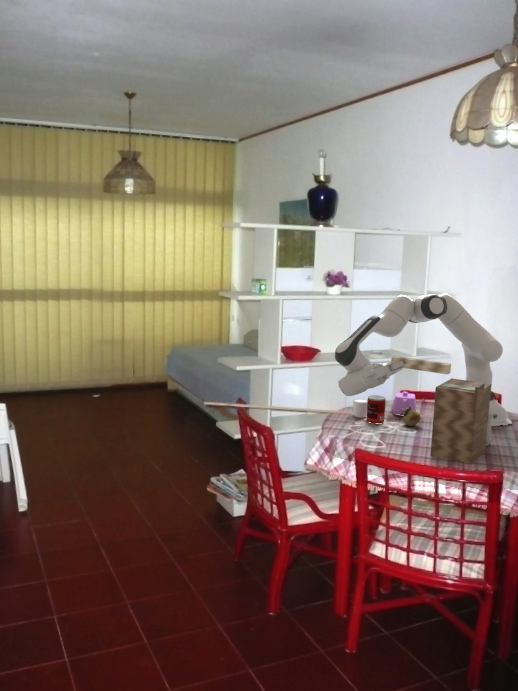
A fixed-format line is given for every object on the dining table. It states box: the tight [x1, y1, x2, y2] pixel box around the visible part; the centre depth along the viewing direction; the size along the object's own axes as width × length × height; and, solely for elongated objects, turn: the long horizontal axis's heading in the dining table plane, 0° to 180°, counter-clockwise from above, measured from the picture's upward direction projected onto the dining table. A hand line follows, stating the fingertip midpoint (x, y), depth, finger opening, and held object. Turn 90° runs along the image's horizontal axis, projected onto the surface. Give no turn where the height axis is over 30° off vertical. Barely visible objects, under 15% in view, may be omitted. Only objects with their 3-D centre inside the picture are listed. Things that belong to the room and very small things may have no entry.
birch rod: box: [390, 355, 452, 375], centre depth 254 cm, size 22×4×4 cm, turn 57°
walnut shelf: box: [430, 377, 492, 465], centre depth 252 cm, size 15×20×28 cm
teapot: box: [392, 391, 417, 415], centre depth 309 cm, size 18×10×10 cm, turn 167°
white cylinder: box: [352, 398, 368, 418], centre depth 302 cm, size 7×7×7 cm
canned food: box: [366, 394, 387, 424], centre depth 293 cm, size 8×8×11 cm
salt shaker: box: [486, 412, 493, 447], centre depth 265 cm, size 6×6×13 cm
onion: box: [401, 407, 422, 427], centre depth 289 cm, size 8×8×8 cm
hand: (406, 361), depth 257 cm, fingers closed on birch rod, 3 cm apart
